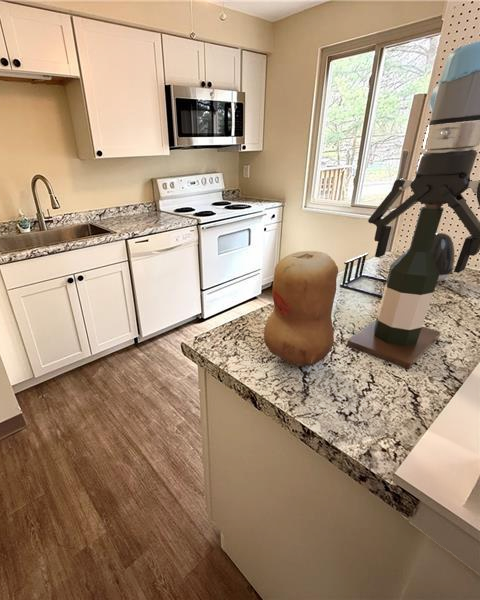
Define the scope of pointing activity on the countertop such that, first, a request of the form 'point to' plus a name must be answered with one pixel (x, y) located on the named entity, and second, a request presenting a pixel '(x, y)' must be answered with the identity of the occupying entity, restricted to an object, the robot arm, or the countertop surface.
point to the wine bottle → (410, 284)
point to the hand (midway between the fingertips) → (416, 262)
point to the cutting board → (393, 346)
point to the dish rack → (358, 276)
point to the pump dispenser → (443, 254)
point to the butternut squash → (302, 308)
